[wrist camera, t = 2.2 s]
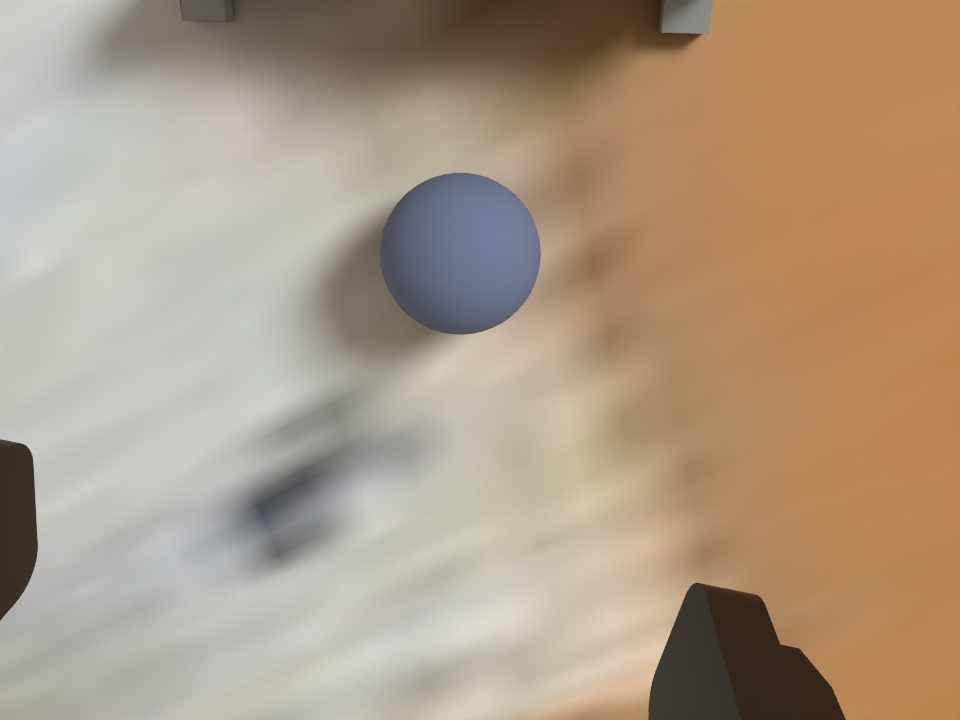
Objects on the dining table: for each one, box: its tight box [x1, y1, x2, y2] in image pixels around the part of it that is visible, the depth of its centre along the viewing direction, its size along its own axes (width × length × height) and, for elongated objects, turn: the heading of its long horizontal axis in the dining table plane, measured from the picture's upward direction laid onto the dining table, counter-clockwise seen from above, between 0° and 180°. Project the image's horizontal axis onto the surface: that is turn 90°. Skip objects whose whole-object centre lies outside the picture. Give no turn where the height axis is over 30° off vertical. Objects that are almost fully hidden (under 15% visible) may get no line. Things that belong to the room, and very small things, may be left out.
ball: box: [380, 173, 540, 334], centre depth 22 cm, size 4×4×4 cm
